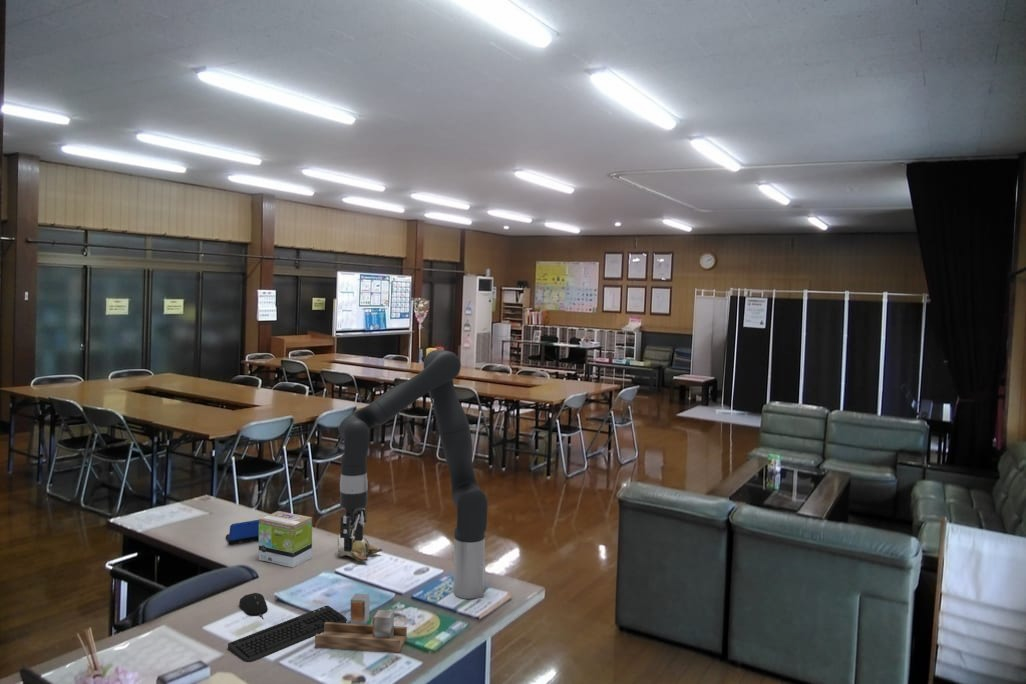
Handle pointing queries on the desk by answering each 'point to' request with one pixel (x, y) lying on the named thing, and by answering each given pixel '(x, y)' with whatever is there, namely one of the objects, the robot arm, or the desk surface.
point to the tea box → (285, 538)
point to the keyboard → (284, 634)
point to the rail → (364, 635)
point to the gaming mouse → (253, 604)
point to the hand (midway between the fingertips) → (353, 545)
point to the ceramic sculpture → (357, 549)
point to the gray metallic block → (360, 609)
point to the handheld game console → (243, 532)
